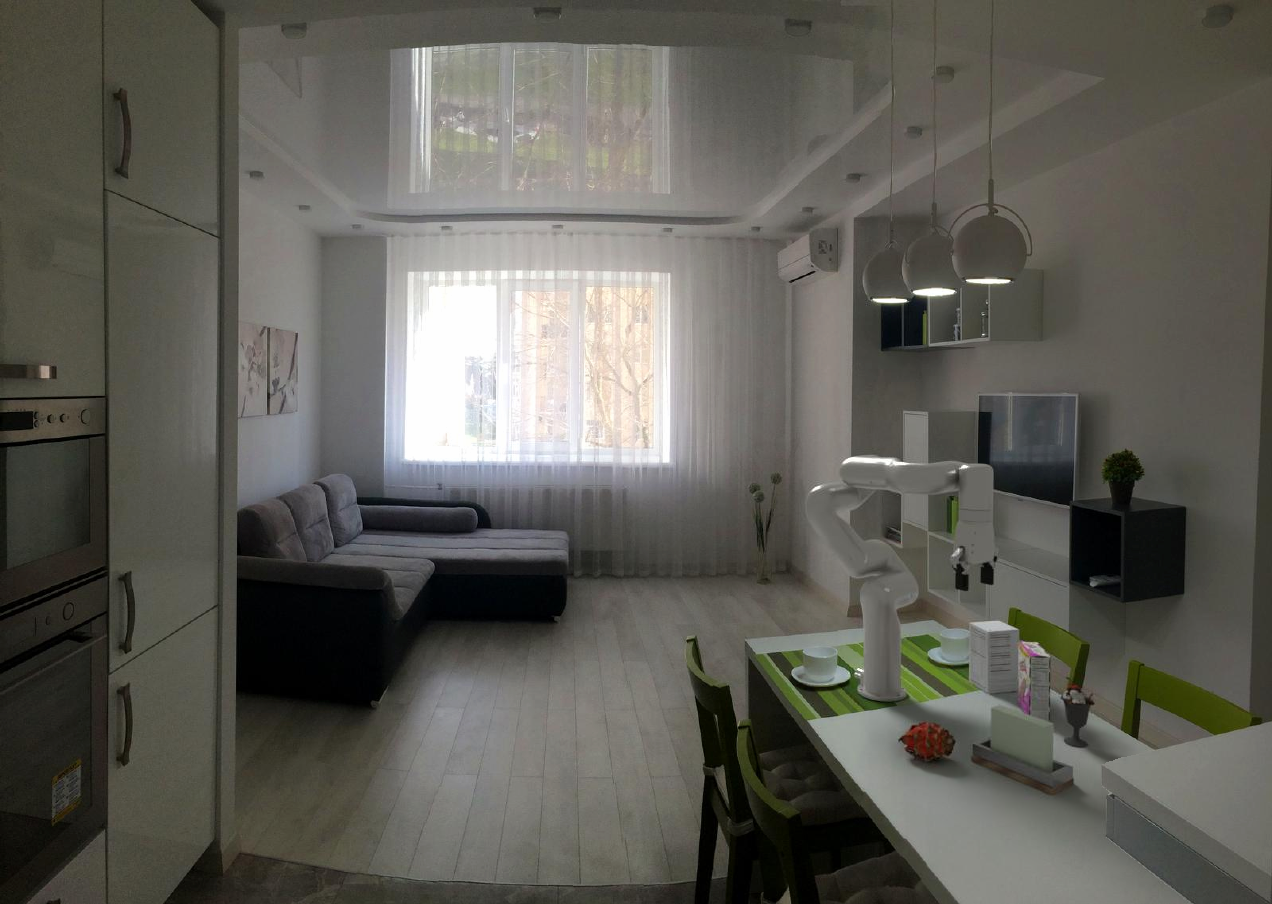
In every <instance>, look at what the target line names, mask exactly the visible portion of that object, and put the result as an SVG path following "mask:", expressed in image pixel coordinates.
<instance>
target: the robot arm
mask: <svg viewBox="0 0 1272 904" xmlns="http://www.w3.org/2000/svg"><path fill="white" fill-rule="evenodd" d="M838 474H839V478H840V480H841V481H837V482H830V483H824V484H819V485H817V486H815V487H813V488H812V489H811V490H810V491H809V492H808V493H807V495H806V499H805V504H804V509H805V510H804V511H805V515H806V519H807V521H808V523H809V525H810V527H811V528H812V529H813V530H814V532H815V533H816V534H817V535H818V536H819V537H820V539H821V540H822V541H823V543H824V544H825V545H826V546H827V548H828V549H829V550H830V552H831V553H832V555H833V556H834V558H835V560H837V561H838V563H839V564H840V566H841V568H842V569H843V570H844V571H845V572H846V573H847V575H848V576H849V577H851V578H853V579H863V578H867V577H871V578H869V579H867V580H866V581H865V582H864V583H863V584H862V586H861V588H860V591H859V600H860V606H861V610H862V620H863V621H862V622H863V623H862V624H863V625H862V626H863V630H862V631H863V633H862V634H863V669H862V668H857V669H856V671H855V672H854V674H853V677H854V678H855V679H858V680H859V682H860V683H859V684H858V685H857V693H858V694H859V695H860V696H861V697H864V698H865V699H869V700H872V701H875V702H876V701H878V702H886V703H887V702H888V703H889V702H898V701H902V700H904V699H905V698H907V696H908V690H907V689H906V688H905V687H904V686H903V685H902V627H901V621H900V618H899V616H898V613H897V610H898V609H900V608H904V607H907V606H909V605H912V604H913V603H914V602H916V600H917V598H919V597H918V596H919V592H920V589H919V584H918V582H917V580H916V578H915V576H914V574H913V573H911V570H909V568H908V567H907V565H906V564H905V562H903V561H902V559H901V558H900V557H899V556H898V554H897V553H896V552H895V550H894V548H892V546H890V545H889V544H888V543H886V542H885V541H883V540H880V539H868V540H863V539H862V538H861V537H860V536H859V535H858V533H856V531H855V529H854V528H853V527H852V526H851V524H849V523H848V522H847V521H846V520H844V519H843V518H841V517H840V516H839V515H838V514H839V513H845V512H850V511H853V510H856V509H858V508H859V507H860V506H861V505H862V504H864V503H865V502H866V500H868V499H869V498H870V497H871V495H873V494H874V493H875V492H876V491H877V490H885V491H894V492H899V493H902V494H903V493H904V494H914V495H915V494H916V495H927V496H928V495H929V496H930V495H931V496H933V495H940V494H946V493H952V492H957V491H958V521H957V522H956V527H955V532H954V536H953V537H954V538H953V552H952V554H951V555H950V557H949V560H950V563H951V567H952V569H953V572H954V573H955V576H954V577H955V579H954V581H955V583H954V589H955V590H958V591H964V592H968V591H969V590H970V589H969V587H970V586H969V585H970V583H969V582H970V581H969V580H970V579H969V573H968V572H969V570H970V568H971V566H976V565H982V566H980V577H979V579H980V583H981V584H984V585H988V586H993V585H994V584H995V568H996V566H997V565H996V562H997V560H998V555H999V551H1000V547H997V546H996V545H995V530H994V524H993V523H994V469H993V467H992V466H991V465H990V464H986V463H966V462H962V461H957V460H947V461H946V460H945V461H939V462H929V463H928V462H927V463H920V462H919V463H914V462H913V463H912V462H903V461H902V460H901V459H900V458H899V457H898V458H897V457H891V456H890V457H888V456H886V457H883V456H879V455H876V454H866V455H865V454H864V455H856V456H855V455H854V456H851V457H848V458H846V459H845V460H844V461H843V462H842V463H841V464H840V467H839V470H838ZM872 576H873V577H872Z"/></svg>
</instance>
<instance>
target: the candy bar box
mask: <svg viewBox="0 0 1272 904" xmlns="http://www.w3.org/2000/svg"><path fill="white" fill-rule="evenodd" d="M1051 661H1052V660H1051V656H1050V654H1049V653H1048V652H1047V651H1046V650H1045V649H1044V647H1043V646H1041V644H1040V643H1039V642H1037V641H1019V642H1018V691H1017V705H1018V706H1019V708H1020V709H1021V710H1022V711H1023V713H1025V714H1028V715H1031V716H1034V717H1036V718H1039V719H1042V720H1045V721H1048V722H1051Z"/></svg>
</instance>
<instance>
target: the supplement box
mask: <svg viewBox="0 0 1272 904" xmlns="http://www.w3.org/2000/svg"><path fill="white" fill-rule="evenodd" d="M968 623H969V625H968V626H969V627H968V628H969V630H968V631H969V633H968V635H969V636H968V646H969V649H968V651H969V652H968V666H969V667H968V670H969V671H968V683H970V684H971V685H973V686H975V687H977V688H978V689H980V690H981V691H983V692H985V693H986V694H999V693H1000V694H1001V693H1002V692H1003V693H1012V692H1011V691H1016V692H1018V642H1020V629H1018V628H1016V627H1015V626H1012V625H1009V624H1007V623H1005V622H1003V621H1001V620H989V621H986V620H985V621H975V622H968Z"/></svg>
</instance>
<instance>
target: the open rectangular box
mask: <svg viewBox="0 0 1272 904" xmlns="http://www.w3.org/2000/svg"><path fill="white" fill-rule="evenodd" d="M971 752H972V753H971V755H970V762H973V763H976V764H977V765H981V766H982V767H984V768H987V769H990V770H992V771H995V772H996V773H999V774H1001V775H1004V776H1006V777H1008V778H1011V779H1013V780H1015V781H1018V782H1020V783H1023V784H1025V785H1027V786H1030V787H1032V788H1035V789H1036V790H1040V791H1042V792H1043V793H1046V794H1049V795H1051V796H1052V795H1054V794H1056V793H1059V792H1060V791H1062V790H1064V789H1067V788H1068V787H1070V786H1072V785H1074V784H1075V778H1074V766H1072V765H1069V764H1067V763H1064V762H1062V761H1059V760H1057V759H1054V758H1053V772H1052V773H1050V772H1048V771H1045V770H1043V769H1040V768H1038V767H1035V766H1033V765H1030V764H1028V763H1025V762H1023V761H1020V760H1018V759H1015V758H1013V757H1010V756H1008V755H1005V754H1003V753H1000V752H998V751H995V750H993V749H991V735H990V736H989V737H986V738H983V739H981V740H978V741H975V742H973V743H972V751H971Z"/></svg>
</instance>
